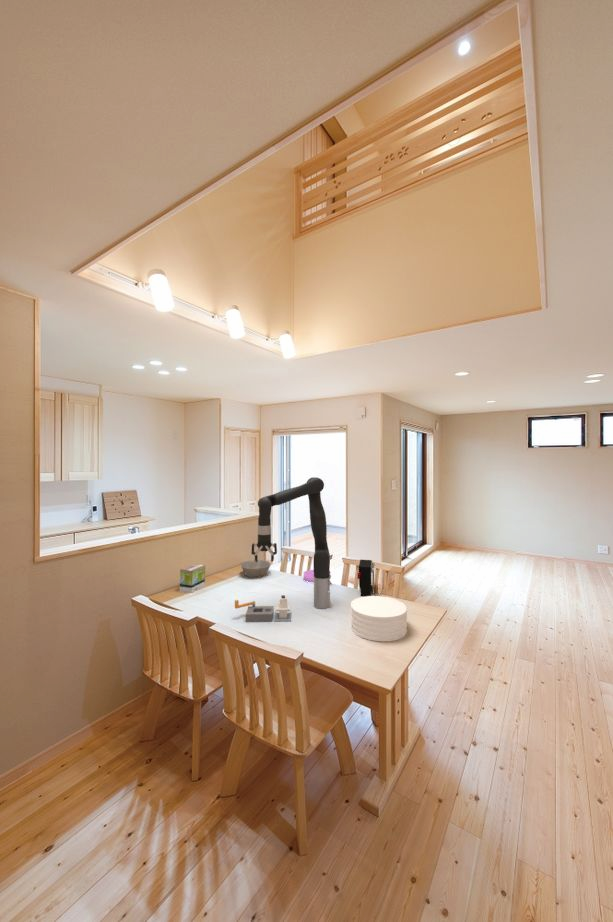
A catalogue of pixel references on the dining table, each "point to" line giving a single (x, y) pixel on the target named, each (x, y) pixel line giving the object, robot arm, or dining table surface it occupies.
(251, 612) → the grey rectangular tray
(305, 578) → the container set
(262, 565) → the ceramic bowl
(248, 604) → the clip
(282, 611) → the plug
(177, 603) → the dining table surface
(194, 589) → the tea box
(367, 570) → the electrical component
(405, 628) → the plate stack
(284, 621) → the mat
